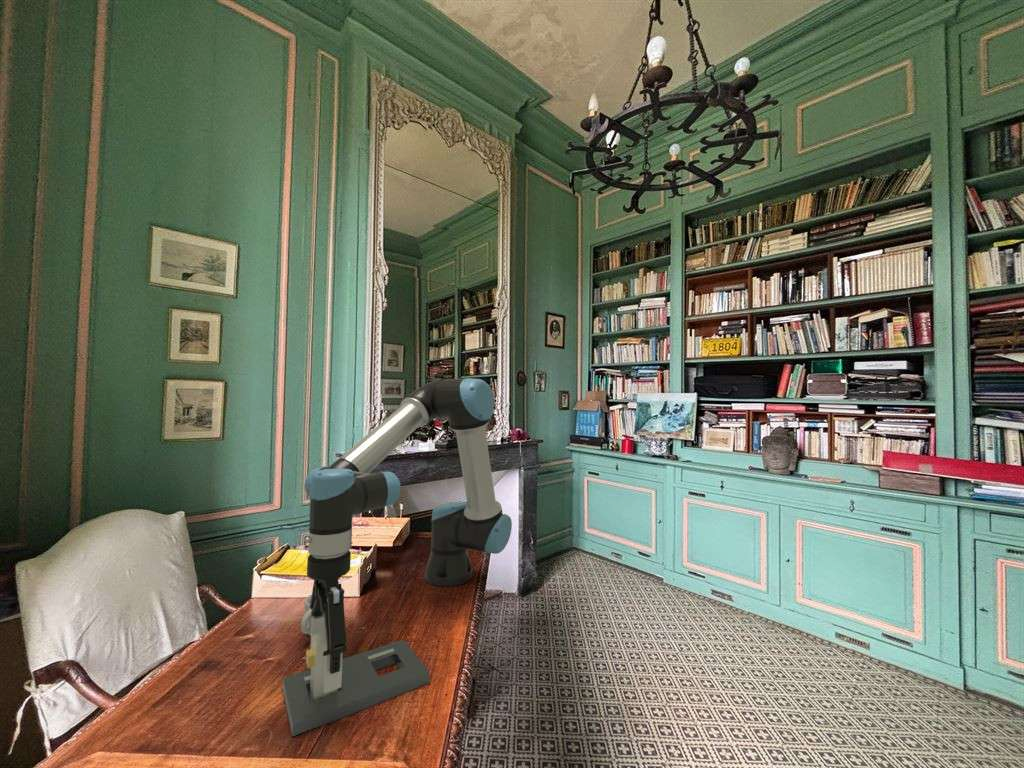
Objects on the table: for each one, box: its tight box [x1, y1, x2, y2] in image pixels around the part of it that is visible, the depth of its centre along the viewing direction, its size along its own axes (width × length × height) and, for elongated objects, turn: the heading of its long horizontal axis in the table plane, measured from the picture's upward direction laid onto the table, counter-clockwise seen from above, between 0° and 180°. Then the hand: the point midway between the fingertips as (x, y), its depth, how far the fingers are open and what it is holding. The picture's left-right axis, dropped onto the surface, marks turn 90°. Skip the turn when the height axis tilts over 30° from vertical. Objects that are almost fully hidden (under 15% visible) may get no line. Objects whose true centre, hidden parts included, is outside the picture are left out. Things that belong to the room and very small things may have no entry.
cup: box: [300, 594, 324, 637], centre depth 97 cm, size 11×8×8 cm
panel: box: [282, 638, 430, 738], centre depth 80 cm, size 24×14×2 cm, turn 125°
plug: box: [305, 632, 338, 701], centre depth 76 cm, size 5×4×11 cm
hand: (324, 668), depth 76 cm, fingers open, 13 cm apart
